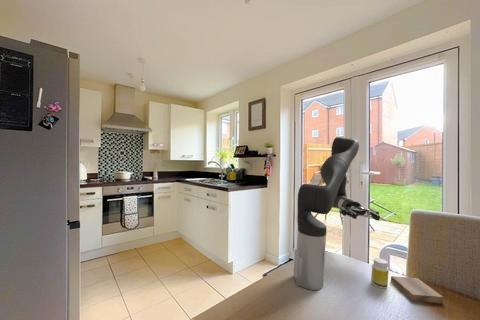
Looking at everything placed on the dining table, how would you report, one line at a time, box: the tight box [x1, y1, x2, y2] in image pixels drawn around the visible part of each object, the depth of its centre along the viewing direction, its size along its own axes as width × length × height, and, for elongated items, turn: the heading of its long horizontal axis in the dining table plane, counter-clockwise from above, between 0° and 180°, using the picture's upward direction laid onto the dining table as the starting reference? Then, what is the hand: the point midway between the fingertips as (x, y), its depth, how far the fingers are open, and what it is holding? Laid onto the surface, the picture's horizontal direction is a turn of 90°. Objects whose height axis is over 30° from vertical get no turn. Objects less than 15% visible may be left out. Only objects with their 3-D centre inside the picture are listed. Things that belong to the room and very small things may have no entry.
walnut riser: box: [390, 275, 444, 304], centre depth 70 cm, size 9×10×2 cm
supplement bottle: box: [370, 257, 389, 289], centre depth 73 cm, size 5×5×8 cm
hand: (367, 217), depth 83 cm, fingers open, 8 cm apart
